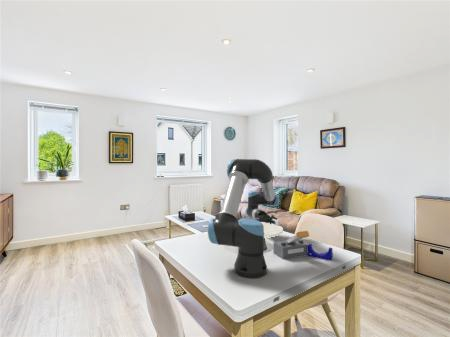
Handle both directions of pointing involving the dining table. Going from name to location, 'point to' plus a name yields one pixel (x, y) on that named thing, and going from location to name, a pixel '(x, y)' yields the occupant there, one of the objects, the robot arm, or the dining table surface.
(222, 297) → the dining table surface
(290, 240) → the breaker lever
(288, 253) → the block
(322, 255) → the cable clip
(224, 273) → the dining table surface
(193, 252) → the dining table surface
